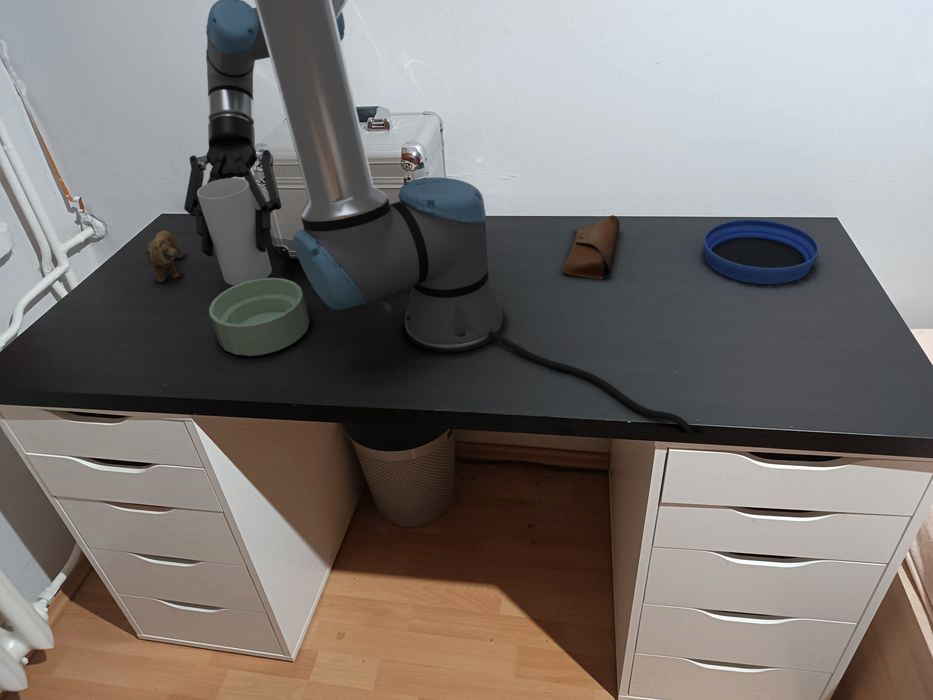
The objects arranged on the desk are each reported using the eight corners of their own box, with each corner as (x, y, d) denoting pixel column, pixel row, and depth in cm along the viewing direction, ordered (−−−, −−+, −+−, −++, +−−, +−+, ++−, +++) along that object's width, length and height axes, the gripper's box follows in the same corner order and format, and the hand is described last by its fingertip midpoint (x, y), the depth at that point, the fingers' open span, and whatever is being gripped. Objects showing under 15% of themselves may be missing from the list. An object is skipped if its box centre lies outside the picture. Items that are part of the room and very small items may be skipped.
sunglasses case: (574, 227, 131) (593, 200, 127) (605, 246, 132) (625, 219, 127) (560, 274, 117) (581, 245, 113) (594, 294, 118) (616, 266, 114)
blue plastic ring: (796, 236, 123) (800, 218, 121) (828, 287, 109) (834, 267, 107) (693, 237, 126) (696, 219, 124) (711, 288, 111) (714, 269, 109)
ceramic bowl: (328, 322, 111) (320, 290, 107) (262, 369, 102) (252, 336, 98) (267, 300, 118) (259, 270, 114) (201, 342, 108) (189, 311, 105)
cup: (280, 264, 122) (258, 178, 113) (257, 287, 116) (231, 199, 106) (239, 260, 124) (214, 176, 115) (215, 283, 118) (186, 197, 108)
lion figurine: (188, 284, 124) (172, 240, 119) (157, 291, 123) (140, 247, 118) (183, 251, 136) (169, 209, 130) (155, 257, 134) (139, 215, 129)
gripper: (298, 129, 121) (303, 253, 117) (180, 139, 121) (181, 263, 117) (286, 108, 113) (291, 239, 110) (160, 118, 113) (161, 249, 110)
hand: (234, 251), depth 114 cm, fingers closed on cup, 8 cm apart
